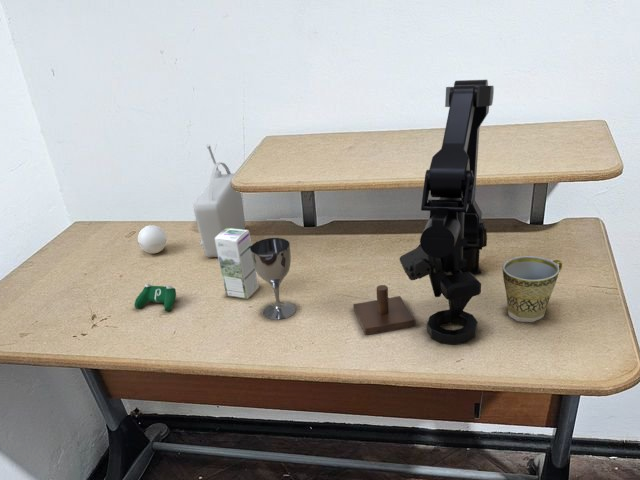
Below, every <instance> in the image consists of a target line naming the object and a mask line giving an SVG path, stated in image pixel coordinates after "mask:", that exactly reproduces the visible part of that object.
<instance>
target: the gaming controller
mask: <svg viewBox="0 0 640 480" xmlns="http://www.w3.org/2000/svg"><path fill="white" fill-rule="evenodd" d="M176 299H177V290H176V288H175V286H173V285H169V284H167V285H166V286H163V285H153V284H151V283H145V285H144V287H143V289H142V290H141V292H140V293H139V294H138V295H137V297H136V299H135V300H134V307H135V308H136V309H141V308H143V307H144V306H146V304H148V303H149V302H150V303H160V304H163V308H164V311H165V312H170V311H171V310H172V308H173V307H174V304H175V302H176Z"/></svg>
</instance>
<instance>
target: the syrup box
mask: <svg viewBox="0 0 640 480" xmlns="http://www.w3.org/2000/svg"><path fill="white" fill-rule="evenodd" d="M215 244H216V248H217V253H218V257H217V258H218V262H219V267H220V272H221V277H222V283H223V287H224V291H225V296H226V297H231V298H235V299H236V298H237V299H244V300H248V299H249V298H251V297H252V296H253V295H254V293H255V292H256V291H257V290H259V287H260V286H259V281H258V276H257V275H258V274H257V272H256V269H255V267H254V264H253V261H252V257H251V251H250V248H251V246H252V245H253V244H252V240H251V234H250V230H249V229H245V230H242V229H231V228H227V229H225V230H223V231H222V232H221V233H219V234H218V235H217V236H216V237H215Z"/></svg>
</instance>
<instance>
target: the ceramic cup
mask: <svg viewBox="0 0 640 480" xmlns="http://www.w3.org/2000/svg"><path fill="white" fill-rule="evenodd" d="M562 268H563V262H562V261H561V260H559V259H554V260H551V259H548V258H547V257H542V256H537V255H535V256H534V255H522V256H515V257H512V258H510V259H508V260H507V261H505V262H504V263H503V265H502V276H503V285H504V289H505V295H506V304H507V312H508V316H509V317H510V318H512V319H513V320H515V321H517V322H521V323H522V322H523V323H534V322H537V321H539V320H541V319H543V318H544V316H545V313H546V311H547V308H548V304H549V302H550V299H551V295H552V293H553V291H554V289H555V286H556V283H557V280H558V277H559V273H560V272H561V270H562Z"/></svg>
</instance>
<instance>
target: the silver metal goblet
mask: <svg viewBox="0 0 640 480" xmlns="http://www.w3.org/2000/svg"><path fill="white" fill-rule="evenodd" d="M251 245H252V246H251V248H250V251H251V257H252V261H253V264H254V267H255V270H256V274H257V275H258V277H260V278H261V280H263V281H264V282H266V283H267V284H269V285H270V286H271V288H272V290H273V293H274V297H275V302H274V303H271V304H268V305H267V306H265V307H264V309H262V315H263V317H264V318H266V319H269V320H275V321H276V320H277V321H278V320H284V319H288V318H289V317H291V316H293V315H294V314H295V313H296V311H297V307H296V306H295V305H294V304H292V303H291V302H287V301H280V300H281V299H280V286H281V283H282V282H283V280H284V279H285V278H286V277H287V275H288V274H289V272H290V270H291V269H290V268H291V263H292V252H291V243H290V242H289V240H287V239H286V238H282V237H269V238H263V239H260V240H258V241H255V242H254V243H253V244H251Z"/></svg>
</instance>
